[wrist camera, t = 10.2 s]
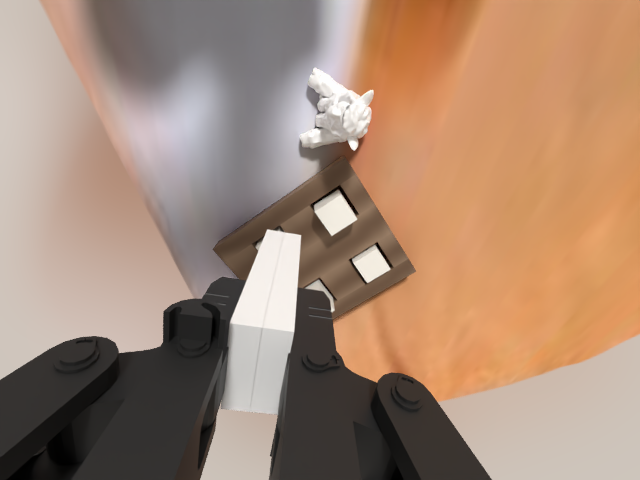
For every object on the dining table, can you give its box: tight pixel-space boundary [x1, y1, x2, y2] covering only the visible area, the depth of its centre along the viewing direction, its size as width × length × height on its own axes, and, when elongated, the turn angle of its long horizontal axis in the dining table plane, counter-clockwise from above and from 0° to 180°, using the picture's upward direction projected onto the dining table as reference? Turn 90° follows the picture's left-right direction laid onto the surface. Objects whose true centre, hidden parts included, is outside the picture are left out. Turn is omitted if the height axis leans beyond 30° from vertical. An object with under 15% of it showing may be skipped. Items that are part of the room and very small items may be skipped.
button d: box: [352, 244, 391, 283], centre depth 45 cm, size 4×4×4 cm
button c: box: [314, 189, 357, 236], centre depth 40 cm, size 4×4×4 cm
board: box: [213, 156, 416, 320], centre depth 45 cm, size 20×22×4 cm
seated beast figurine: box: [300, 68, 374, 151], centre depth 34 cm, size 10×9×12 cm
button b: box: [305, 279, 335, 312], centre depth 45 cm, size 4×4×4 cm
